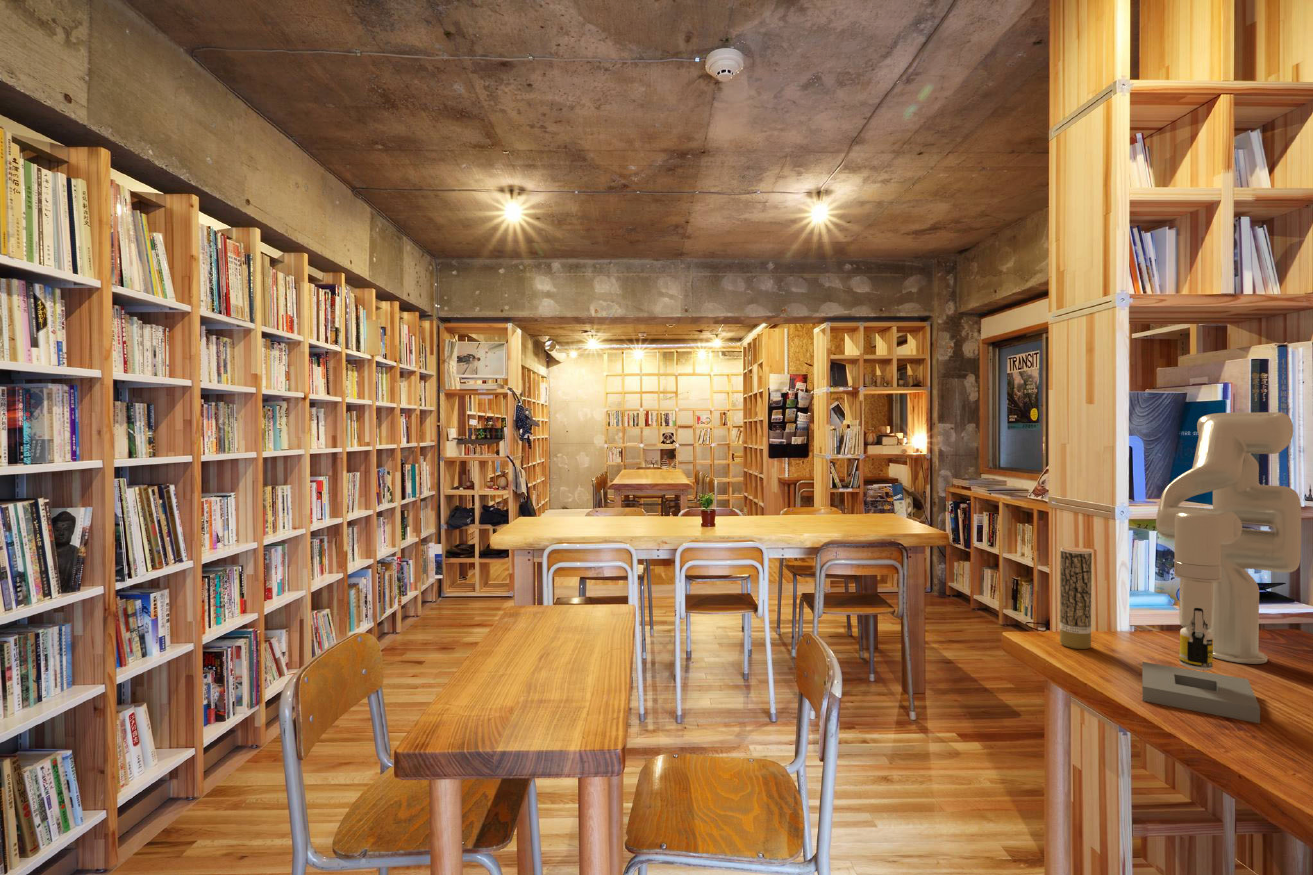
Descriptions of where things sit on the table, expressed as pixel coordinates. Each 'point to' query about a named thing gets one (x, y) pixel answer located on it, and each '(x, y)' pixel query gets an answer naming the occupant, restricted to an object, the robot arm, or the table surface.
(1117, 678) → the table surface
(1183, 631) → the supplement bottle
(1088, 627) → the paper tube
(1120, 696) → the table surface
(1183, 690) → the socket board
